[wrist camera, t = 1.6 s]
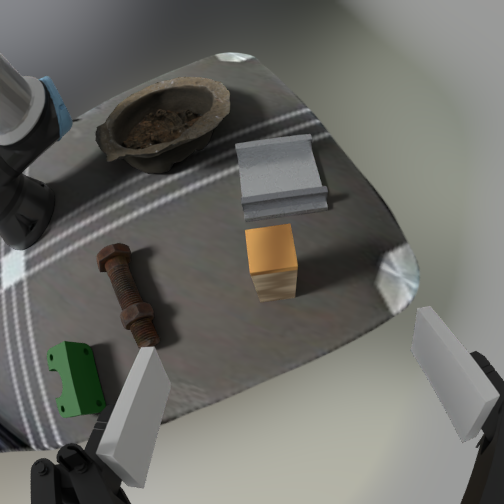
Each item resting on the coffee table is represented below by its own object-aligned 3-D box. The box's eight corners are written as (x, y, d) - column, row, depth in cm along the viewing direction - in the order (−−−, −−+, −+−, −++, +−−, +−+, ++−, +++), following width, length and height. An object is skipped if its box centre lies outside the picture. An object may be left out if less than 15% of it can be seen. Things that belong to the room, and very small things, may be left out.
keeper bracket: (245, 222, 44) (242, 209, 41) (238, 154, 50) (234, 141, 46) (327, 210, 44) (329, 197, 41) (308, 145, 49) (309, 131, 46)
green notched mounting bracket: (87, 364, 43) (47, 341, 37) (108, 356, 42) (66, 331, 36) (83, 427, 35) (37, 408, 29) (105, 423, 34) (56, 404, 28)
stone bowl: (127, 214, 47) (99, 180, 39) (111, 135, 59) (93, 105, 51) (261, 148, 49) (252, 105, 41) (212, 86, 60) (201, 53, 52)
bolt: (157, 350, 41) (119, 264, 46) (176, 334, 39) (135, 244, 44) (124, 357, 36) (89, 263, 41) (143, 341, 34) (103, 241, 39)
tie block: (260, 302, 40) (249, 272, 29) (256, 270, 41) (245, 230, 30) (294, 297, 39) (297, 266, 28) (289, 265, 41) (290, 223, 30)
